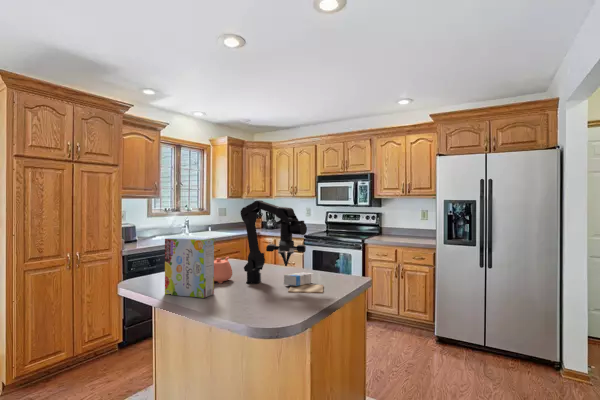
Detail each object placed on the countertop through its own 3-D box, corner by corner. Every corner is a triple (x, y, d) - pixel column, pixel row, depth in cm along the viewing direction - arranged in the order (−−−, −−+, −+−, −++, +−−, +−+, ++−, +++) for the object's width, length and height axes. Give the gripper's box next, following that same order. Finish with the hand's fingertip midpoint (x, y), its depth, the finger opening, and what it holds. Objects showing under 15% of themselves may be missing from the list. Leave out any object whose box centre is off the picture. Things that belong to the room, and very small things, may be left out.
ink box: (296, 286, 161) (315, 282, 172) (296, 276, 161) (315, 273, 172) (283, 284, 167) (302, 281, 178) (283, 274, 167) (302, 271, 178)
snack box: (215, 293, 153) (215, 237, 153) (204, 299, 145) (203, 239, 145) (176, 289, 160) (176, 236, 160) (163, 294, 152) (163, 238, 152)
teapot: (239, 277, 186) (239, 255, 186) (221, 286, 167) (221, 261, 167) (217, 276, 190) (217, 254, 190) (197, 284, 170) (197, 260, 170)
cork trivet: (288, 292, 155) (288, 291, 155) (291, 285, 168) (291, 284, 168) (322, 293, 154) (322, 291, 154) (323, 285, 166) (323, 284, 166)
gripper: (264, 235, 155) (263, 269, 155) (304, 235, 153) (304, 270, 153) (268, 232, 166) (268, 264, 166) (305, 233, 164) (305, 265, 164)
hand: (286, 266), depth 162 cm, fingers closed
